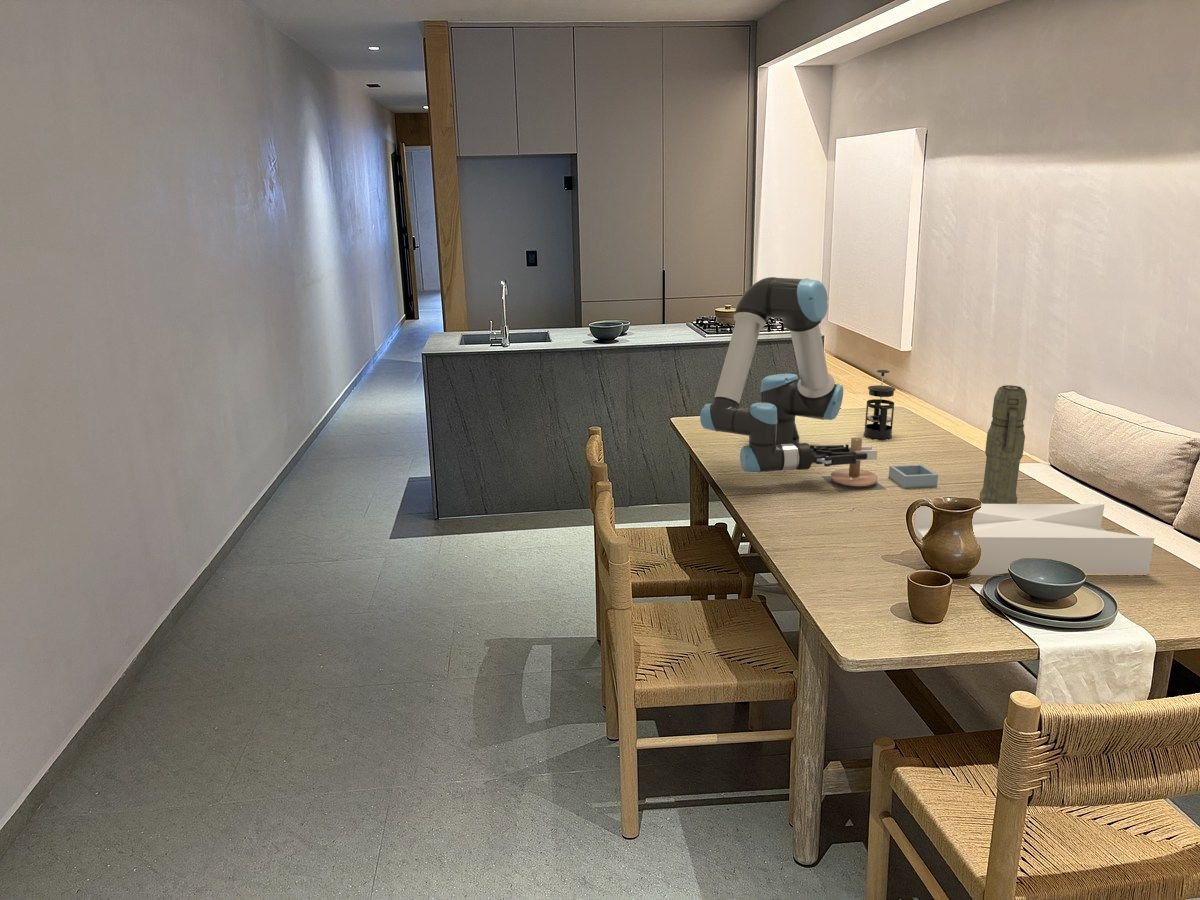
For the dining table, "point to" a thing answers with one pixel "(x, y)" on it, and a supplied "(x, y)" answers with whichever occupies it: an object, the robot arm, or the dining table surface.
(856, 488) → the mat
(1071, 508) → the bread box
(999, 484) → the green carved statue
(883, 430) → the french press
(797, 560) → the dining table surface
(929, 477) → the dish
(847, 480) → the lid
